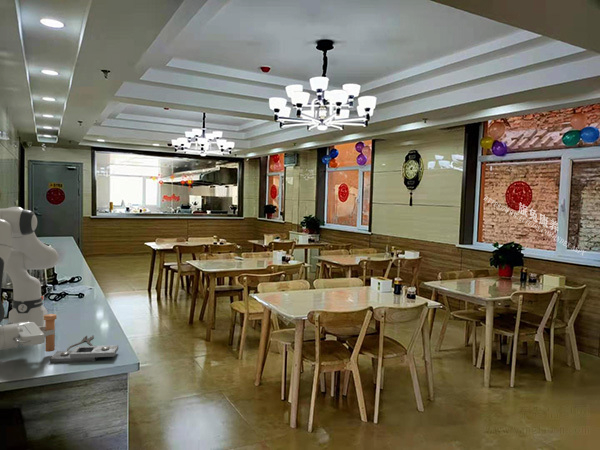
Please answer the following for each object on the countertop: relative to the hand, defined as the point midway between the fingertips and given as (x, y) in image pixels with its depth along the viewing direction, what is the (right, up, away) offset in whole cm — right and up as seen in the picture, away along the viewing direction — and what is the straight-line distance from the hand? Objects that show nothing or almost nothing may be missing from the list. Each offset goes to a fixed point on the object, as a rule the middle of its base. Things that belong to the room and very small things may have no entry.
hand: (52, 329), depth 178 cm
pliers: (+4, -10, +15) cm, 19 cm away
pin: (-1, -8, 0) cm, 8 cm away
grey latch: (+14, -11, -1) cm, 17 cm away
